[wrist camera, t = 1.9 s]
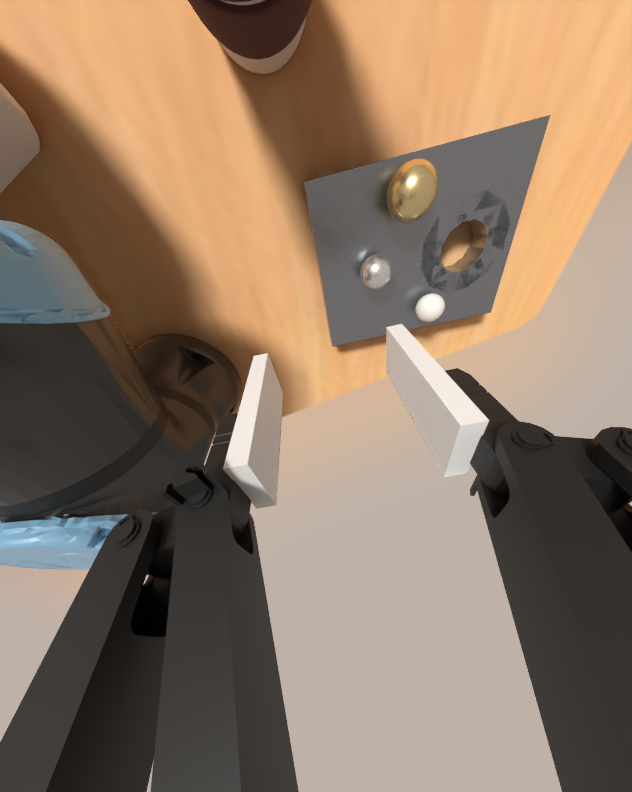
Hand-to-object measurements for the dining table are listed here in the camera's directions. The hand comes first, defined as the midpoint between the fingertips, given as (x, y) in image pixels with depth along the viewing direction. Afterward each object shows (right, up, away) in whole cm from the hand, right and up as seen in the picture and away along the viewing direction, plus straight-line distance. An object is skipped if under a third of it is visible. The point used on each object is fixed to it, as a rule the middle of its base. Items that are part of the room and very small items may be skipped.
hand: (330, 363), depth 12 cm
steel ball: (+5, +11, +11) cm, 16 cm away
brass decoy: (+7, +15, +7) cm, 18 cm away
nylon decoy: (+12, +8, +14) cm, 20 cm away
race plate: (+9, +14, +14) cm, 22 cm away
